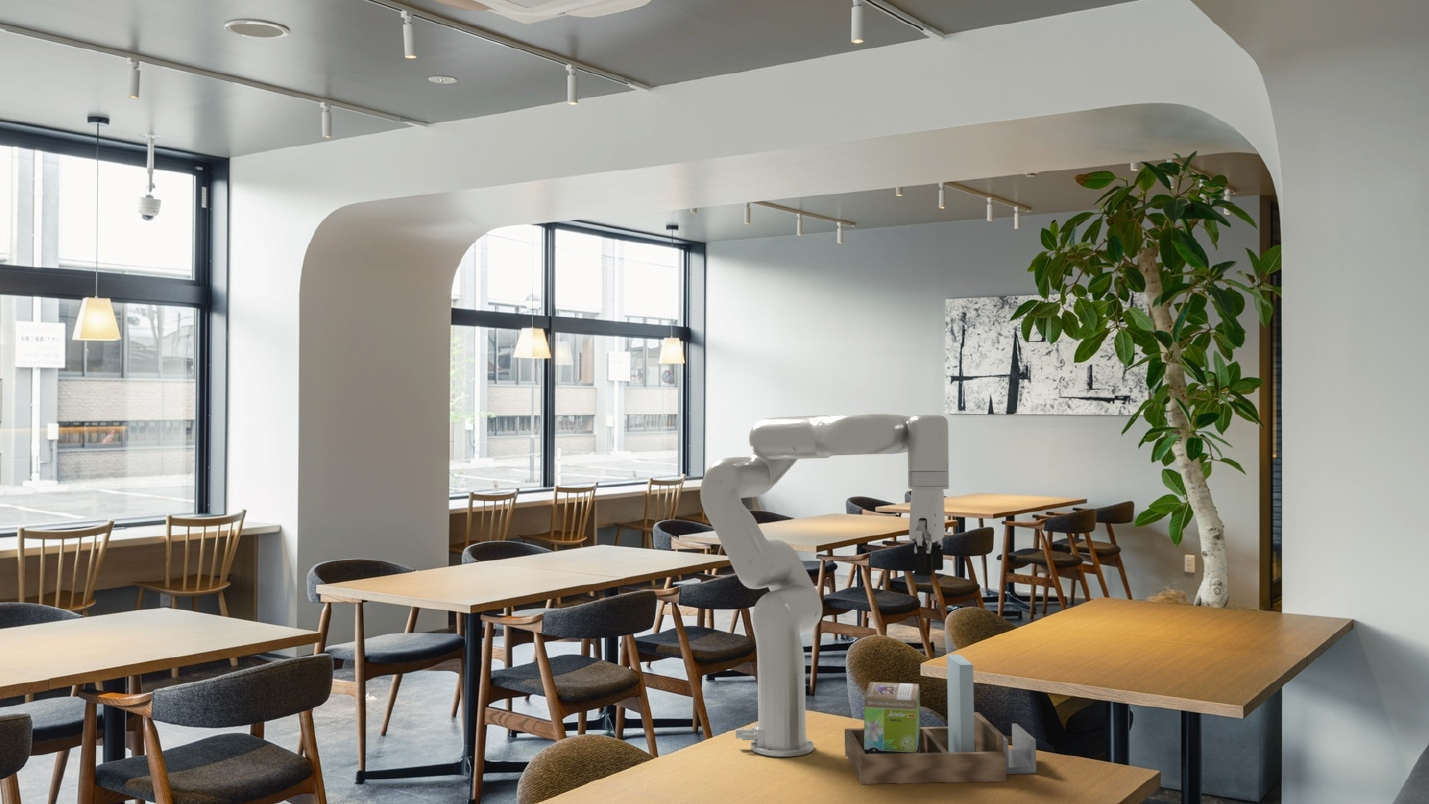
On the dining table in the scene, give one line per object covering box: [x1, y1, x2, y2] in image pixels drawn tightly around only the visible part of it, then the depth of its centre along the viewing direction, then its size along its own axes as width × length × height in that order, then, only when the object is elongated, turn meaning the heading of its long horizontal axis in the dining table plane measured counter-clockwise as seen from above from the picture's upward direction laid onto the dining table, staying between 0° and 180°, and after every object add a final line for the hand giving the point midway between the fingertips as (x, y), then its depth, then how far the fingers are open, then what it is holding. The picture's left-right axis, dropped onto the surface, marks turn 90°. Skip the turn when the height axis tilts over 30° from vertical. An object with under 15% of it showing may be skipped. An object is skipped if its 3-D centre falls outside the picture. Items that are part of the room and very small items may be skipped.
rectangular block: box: [946, 654, 975, 752], centre depth 218 cm, size 2×10×20 cm, turn 2°
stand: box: [1003, 723, 1037, 775], centre depth 218 cm, size 6×12×6 cm, turn 2°
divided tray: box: [844, 711, 1007, 785], centre depth 217 cm, size 26×20×8 cm
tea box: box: [863, 681, 921, 754], centre depth 217 cm, size 15×10×15 cm
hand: (929, 572), depth 216 cm, fingers open, 9 cm apart
